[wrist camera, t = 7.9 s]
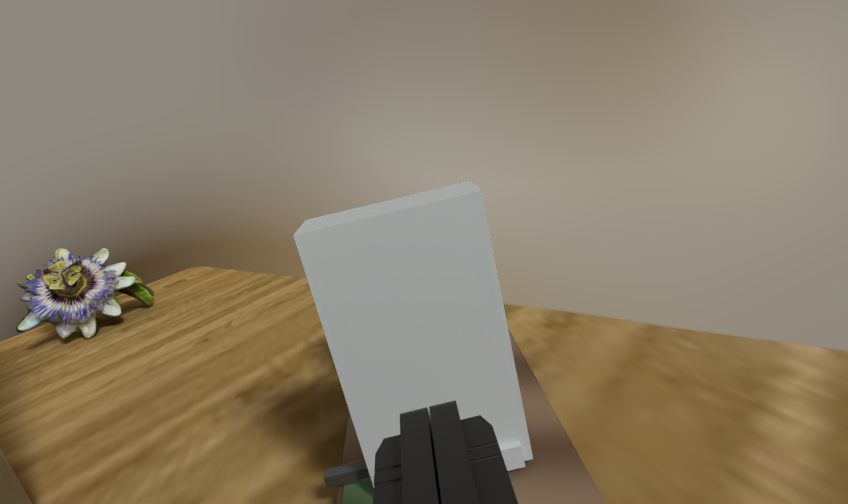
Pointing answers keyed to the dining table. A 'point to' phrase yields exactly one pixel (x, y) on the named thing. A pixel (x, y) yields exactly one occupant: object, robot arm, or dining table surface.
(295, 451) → the dining table surface
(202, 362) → the dining table surface
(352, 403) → the panel
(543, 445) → the board
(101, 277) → the passion flower
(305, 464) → the dining table surface
